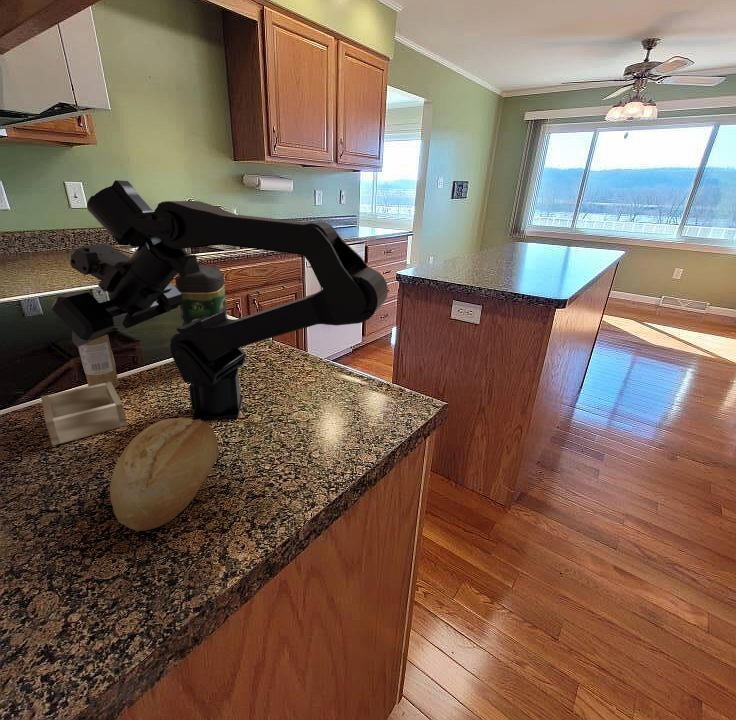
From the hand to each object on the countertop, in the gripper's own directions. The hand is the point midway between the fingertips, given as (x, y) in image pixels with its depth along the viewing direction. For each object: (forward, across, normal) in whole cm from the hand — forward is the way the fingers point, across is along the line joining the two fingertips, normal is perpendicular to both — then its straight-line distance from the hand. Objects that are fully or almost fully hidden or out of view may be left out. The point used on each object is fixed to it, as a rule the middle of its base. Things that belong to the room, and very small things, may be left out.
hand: (101, 334), depth 63 cm
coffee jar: (+2, -16, +12) cm, 20 cm away
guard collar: (+4, +9, +10) cm, 14 cm away
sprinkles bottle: (+8, 0, +6) cm, 10 cm away
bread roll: (-11, +17, +25) cm, 32 cm away
